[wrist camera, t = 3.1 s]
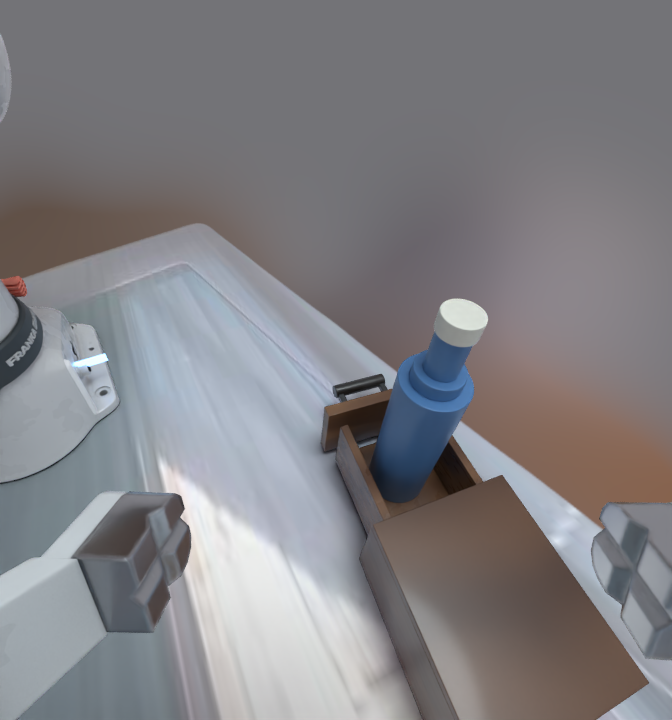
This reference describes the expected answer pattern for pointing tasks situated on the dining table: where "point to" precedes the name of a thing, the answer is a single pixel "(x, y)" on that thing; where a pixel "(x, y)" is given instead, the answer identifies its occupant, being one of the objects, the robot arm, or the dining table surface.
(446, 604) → the cabinet
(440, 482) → the drawer
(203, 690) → the dining table surface
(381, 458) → the bottle
